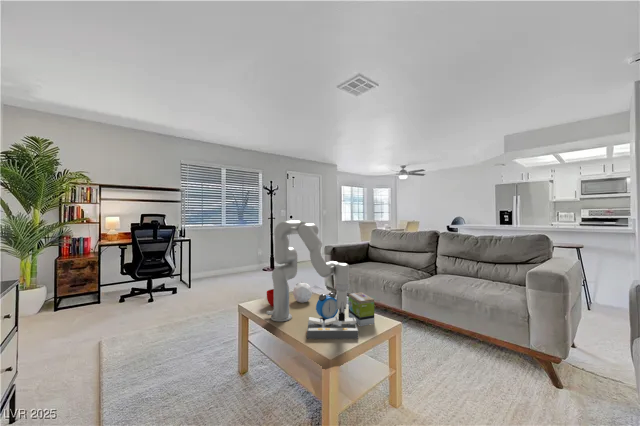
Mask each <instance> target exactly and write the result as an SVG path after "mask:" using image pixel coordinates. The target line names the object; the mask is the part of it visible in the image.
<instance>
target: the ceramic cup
mask: <svg viewBox="0 0 640 426" xmlns="http://www.w3.org/2000/svg"><path fill="white" fill-rule="evenodd" d="M266 300H267V303H268V304H269V306H270V307H272V308H274V288H272V289H268V290H266Z"/></svg>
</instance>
